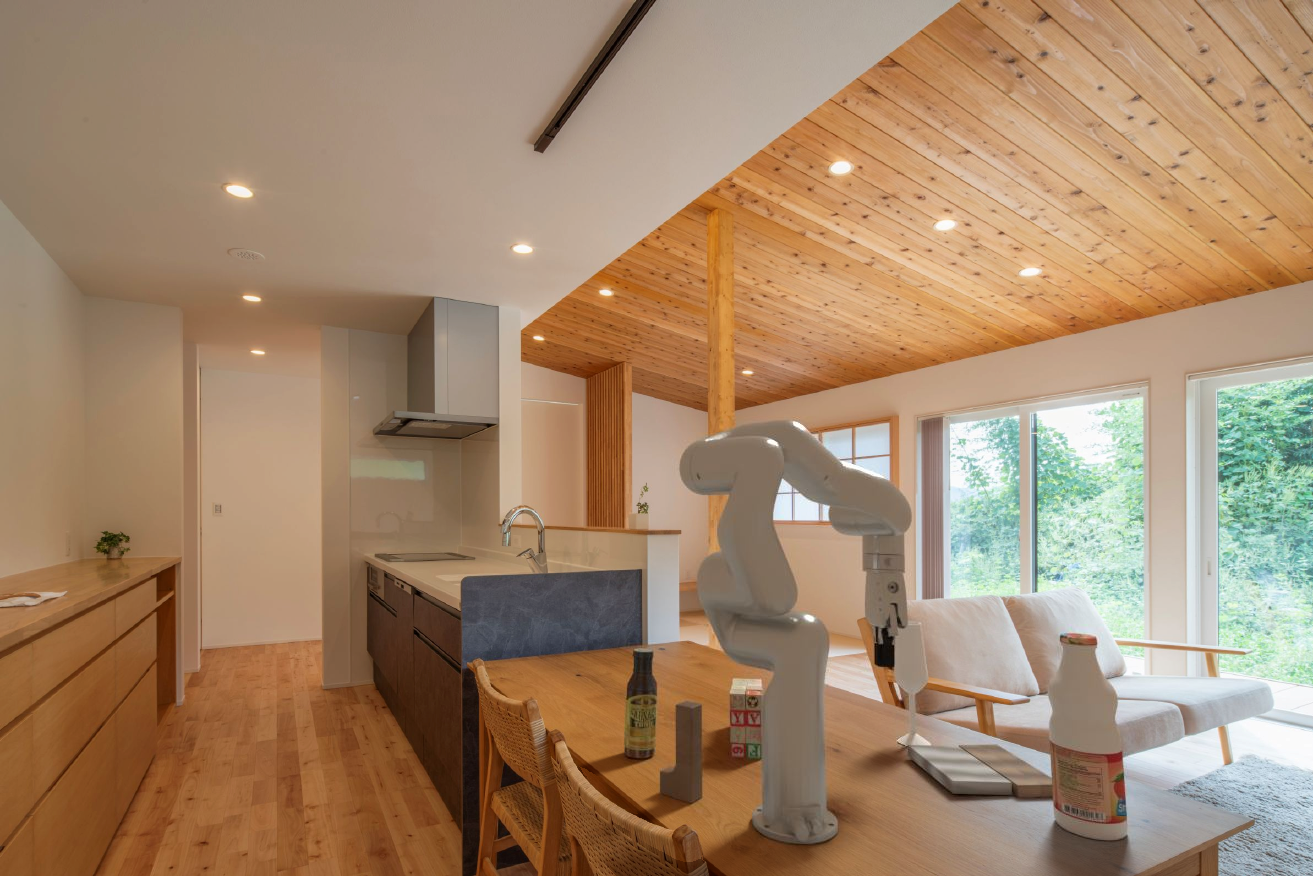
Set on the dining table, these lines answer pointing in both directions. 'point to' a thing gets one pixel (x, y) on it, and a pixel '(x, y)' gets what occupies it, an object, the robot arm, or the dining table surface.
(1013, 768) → the walnut floor strip
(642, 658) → the sauce bottle
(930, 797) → the dining table surface
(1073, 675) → the fruit juice
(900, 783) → the dining table surface
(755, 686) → the stack of blocks
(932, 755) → the grey plank
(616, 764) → the dining table surface
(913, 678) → the champagne flute
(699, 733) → the wooden block
